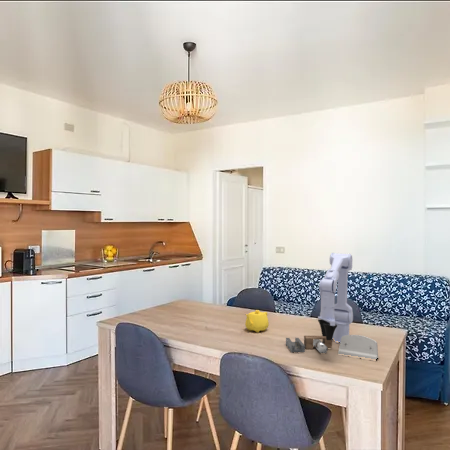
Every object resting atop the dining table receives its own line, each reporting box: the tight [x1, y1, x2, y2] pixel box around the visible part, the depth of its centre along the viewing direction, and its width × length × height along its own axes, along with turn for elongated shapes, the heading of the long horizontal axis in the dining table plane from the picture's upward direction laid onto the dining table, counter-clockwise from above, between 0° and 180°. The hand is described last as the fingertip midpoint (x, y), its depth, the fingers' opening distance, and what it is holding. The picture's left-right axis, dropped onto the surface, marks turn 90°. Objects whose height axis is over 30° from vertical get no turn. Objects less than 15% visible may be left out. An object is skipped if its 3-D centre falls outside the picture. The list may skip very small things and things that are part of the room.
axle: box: [313, 339, 329, 354], centre depth 176 cm, size 10×4×4 cm, turn 3°
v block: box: [285, 337, 306, 353], centre depth 178 cm, size 12×6×3 cm, turn 3°
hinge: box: [337, 334, 379, 360], centre depth 169 cm, size 17×5×10 cm, turn 61°
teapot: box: [245, 309, 270, 334], centre depth 207 cm, size 18×11×11 cm, turn 135°
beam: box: [303, 335, 333, 350], centre depth 179 cm, size 4×12×5 cm, turn 93°
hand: (327, 338), depth 166 cm, fingers open, 5 cm apart
